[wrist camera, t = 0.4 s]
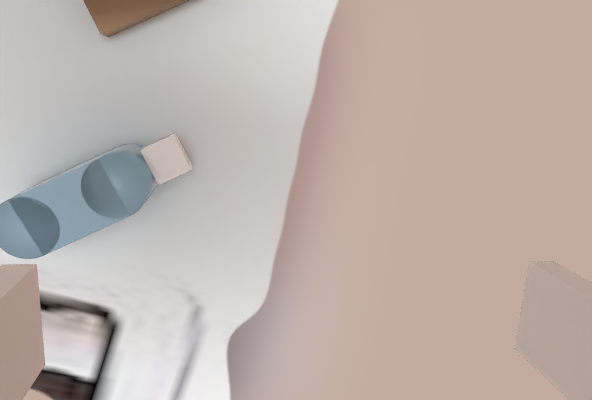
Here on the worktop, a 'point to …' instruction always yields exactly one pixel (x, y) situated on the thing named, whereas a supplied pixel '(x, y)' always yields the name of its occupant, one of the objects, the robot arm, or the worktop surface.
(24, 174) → the worktop surface
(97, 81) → the worktop surface
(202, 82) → the worktop surface
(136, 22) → the walnut board
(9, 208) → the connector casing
